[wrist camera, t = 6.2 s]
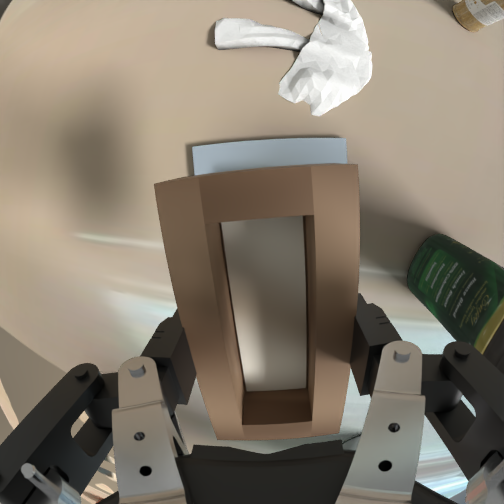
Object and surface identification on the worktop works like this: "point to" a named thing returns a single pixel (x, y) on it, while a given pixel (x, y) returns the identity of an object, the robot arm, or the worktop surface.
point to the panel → (268, 154)
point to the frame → (267, 293)
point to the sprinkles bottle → (478, 13)
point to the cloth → (312, 53)
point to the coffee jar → (462, 293)
